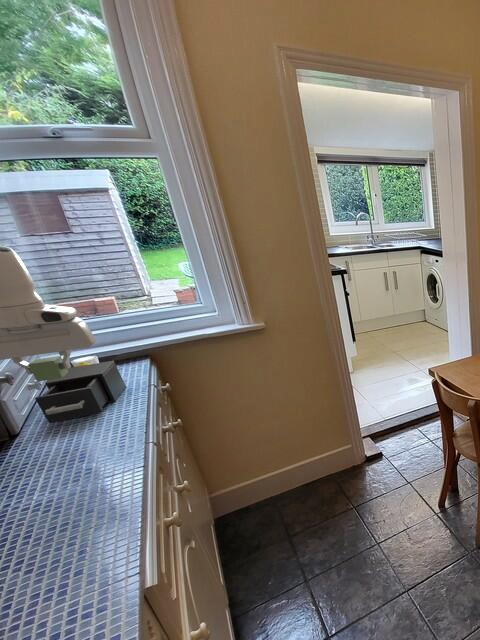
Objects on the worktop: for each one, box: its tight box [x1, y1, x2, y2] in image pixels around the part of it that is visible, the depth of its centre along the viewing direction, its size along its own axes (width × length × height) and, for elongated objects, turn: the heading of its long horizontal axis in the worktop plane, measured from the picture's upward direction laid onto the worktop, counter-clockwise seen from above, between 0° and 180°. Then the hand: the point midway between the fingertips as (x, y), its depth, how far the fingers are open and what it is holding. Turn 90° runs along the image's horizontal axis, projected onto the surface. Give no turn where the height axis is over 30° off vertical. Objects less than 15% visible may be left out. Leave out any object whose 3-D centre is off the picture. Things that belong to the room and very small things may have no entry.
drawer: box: [34, 376, 110, 424], centre depth 119 cm, size 17×11×8 cm
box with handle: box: [44, 360, 127, 405], centre depth 129 cm, size 14×13×10 cm
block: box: [28, 355, 69, 382], centre depth 101 cm, size 4×4×4 cm
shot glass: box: [70, 355, 100, 367], centre depth 148 cm, size 7×7×7 cm
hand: (50, 370), depth 102 cm, fingers closed on block, 4 cm apart
